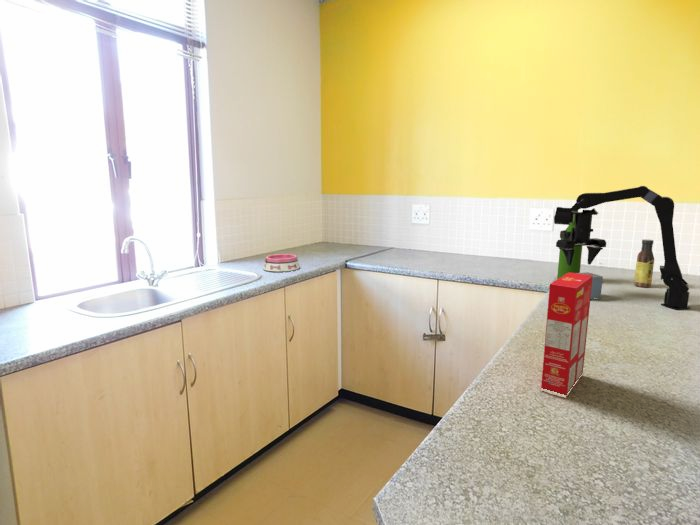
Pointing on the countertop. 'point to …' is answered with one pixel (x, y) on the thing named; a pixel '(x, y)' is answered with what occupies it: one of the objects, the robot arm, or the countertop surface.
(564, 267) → the wine bottle
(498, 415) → the countertop surface
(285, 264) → the dog bowl
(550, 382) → the food packaging
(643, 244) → the sauce bottle
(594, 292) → the grey-blue cube
